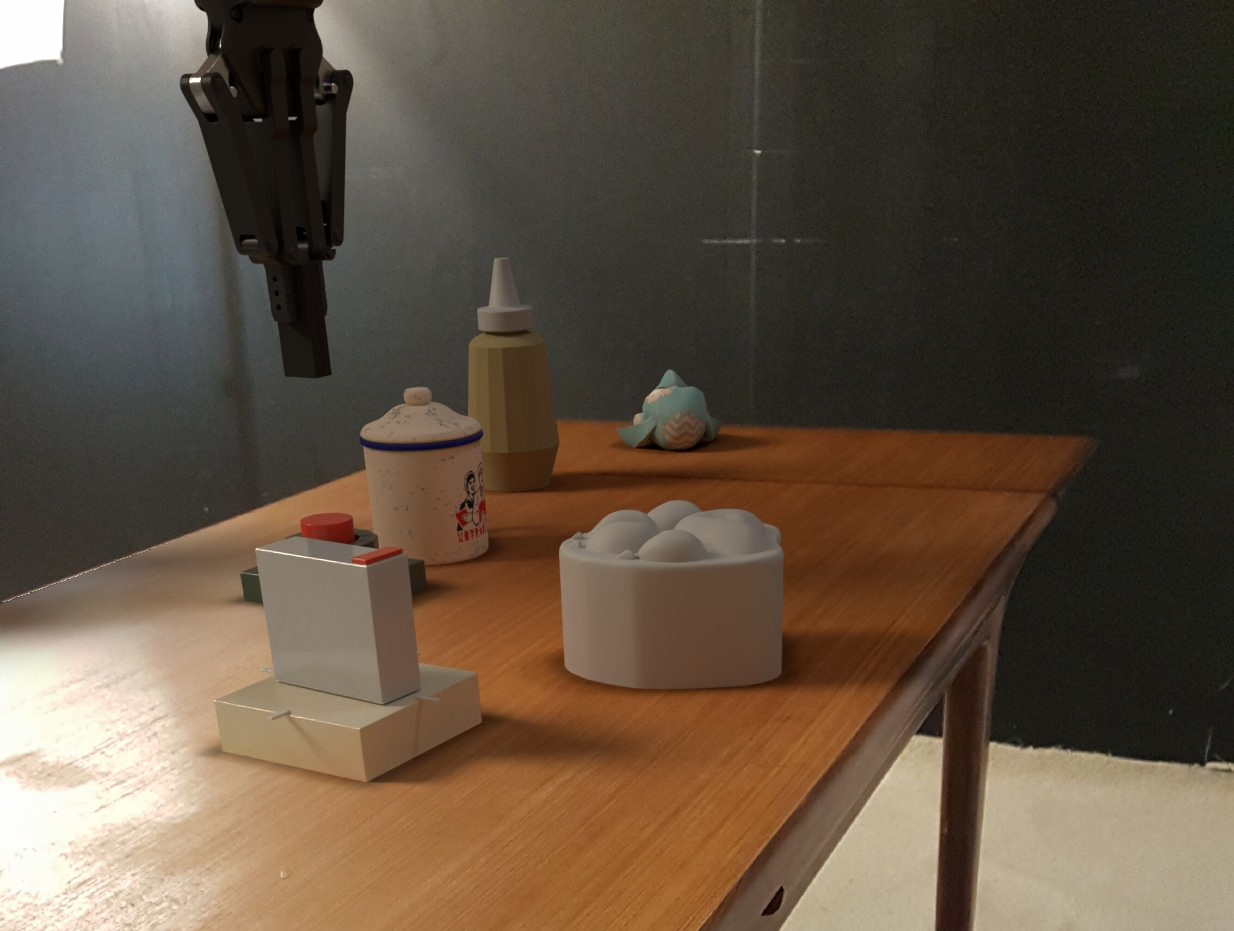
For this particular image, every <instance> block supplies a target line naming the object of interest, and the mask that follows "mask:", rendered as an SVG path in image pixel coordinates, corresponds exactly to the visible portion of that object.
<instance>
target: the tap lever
mask: <svg viewBox="0 0 1234 931" xmlns="http://www.w3.org/2000/svg"><path fill="white" fill-rule="evenodd" d="M284 539H285V538H284ZM284 539H282V540H278V541H275V542H271V543H268V544H265V545H261V546H258V547H255V548H254V553H255V559H256V566H258V572H259V579H260V585H261V592H262V598H263V604H262V605H263V611H264V617H265V623H266V630H267V636H268V644H269V650H270V656H271V662H272V668H273V670H274V674H273V675H274V676H275V680H276V681H279V682H284V683H288V684H293V685H297V686H302V687H306V688H311V689H315V690H320V691H324V692H329V693H333V694H338V695H342V696H347V697H351V698H356V699H360V700H365V701H369V702H373V703H378V704H383V705H384V704H386V703H388V702H391V701H393V700H396V699H398V698H400V697H403V696H405V695H407V694H410V693H412V692H415V691H417V690H419V689H421V681H420V671H419V663H420V662H419V656H418V652H419V651H418V644H417V634H416V624H415V615H414V606H413V605H414V604H413V595H412V594H411V585H410V575H409V565H408V556H407V554H406V553H403V550H402V548H396V547H389V546H387V547H384V548H381V549H375V548H368V547H362V546H355V545H349V544H343V543H336V542H330V541H323V540H317V539H310V538H304V537H298V536H295V537H291V538H288V539H285V540H284Z"/></svg>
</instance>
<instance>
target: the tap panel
mask: <svg viewBox="0 0 1234 931" xmlns="http://www.w3.org/2000/svg"><path fill="white" fill-rule="evenodd" d="M417 652H418V657H419V656H421V652H420V651H417ZM259 671H260V672H261V673H267V674H272V675H270V676H269V677H266V678H264V679H262V680H259V681H257V682H254V683H252V684H250V685H247V686H245V687H243V688H240V689H238V690H236V691H232V692H230V693H228V694H225V695H223V696H221V697H219V698H216V699H214V700H213V704H214V711H215V716H216V722H217V728H218V732H219V738H220V739H219V740H220V744H221V745H220V746H221V750H222V752H225V753H229V754H233V755H239V756H242V757H248V758H253V759H257V760H262V761H266V762H271V763H275V764H281V765H285V766H289V767H294V768H299V769H304V770H307V771H313V772H317V773H323V774H327V775H331V776H336V777H339V778H340V777H341V778H344V779H350V780H354V781H358V782H359V781H360V782H364V783H368V782H370V781H372V780H373V779H376V778H377V777H380V776H381V775H383V774H386V773H387V772H389V771H391V770H393V769H395V768H397V767H399V766H400V765H402V764H405V763H407V762H409V761H411V760H412V759H414V758H416V757H419V756H420V755H421V754H424V753H426V752H427V751H429V750H431V749H434V748H435V747H437V746H439V745H441V744H443V743H445V742H447V741H450V739H452V738H454V737H457V736H458V735H460V734H462V733H464V732H466V731H468V730H470V729H472V728H474V727H475V726H478V725H479V724H481V723H483V722H482V708H481V697H480V696H481V695H480V685H479V672H476V671H472V670H471V671H470V670H466V669H465V670H464V669H459V668H453V667H447V666H441V665H435V664H429V663H424V662H423V663H422V662H419V671H420V681H421V689H419V690H417V691H415V692H412V693H410V694H407V695H405V696H403V697H400V698H398V699H396V700H393V701H391V702H388V703H386V704H384V705H383V704H378V703H373V702H369V701H365V700H360V699H356V698H351V697H347V696H342V695H338V694H333V693H329V692H324V691H320V690H315V689H311V688H306V687H302V686H297V685H293V684H288V683H284V682H279V681H276V680H275V676H274V670H273V667H267V666H262V667H261V668H259Z"/></svg>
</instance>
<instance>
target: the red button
mask: <svg viewBox="0 0 1234 931" xmlns="http://www.w3.org/2000/svg"><path fill="white" fill-rule="evenodd" d="M299 526H300V533H302V537H304V538H310V539H317V540H323V541H330V542H336V543H343V544H349V543H351V542H354V541H356V539H355V531H354V529H355V523H354V516H352V514H348V513H343V512H325V513H324V512H322V513H316V514H311V515H308V516H304V517H302V518H301V519H300V520H299Z"/></svg>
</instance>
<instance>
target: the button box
mask: <svg viewBox="0 0 1234 931" xmlns="http://www.w3.org/2000/svg"><path fill="white" fill-rule="evenodd" d="M354 531H355V539H356V541H354V542H351V543H349V545H355V546H362V547H368V548H375V549H379V542H378V535H376V534H375V533H373V531H371V530H369V529H361V528H354ZM295 536H298V537H302V533H301V532H298V533H295V534H292V535H289V536H285V538H284V539H283V540H285V539H288V538H291V537H295ZM408 565H409V575H410V585H411V594H412V596H413V595H416V594H418V593H420V592H423V591H425V590H427V589H428V585H427V574H426V566H425V563H424V560H419V559H411V558H408ZM239 575H240V581H241V586H242V587H241V588H242V593H243V594H242V595H243V599H244V602H250V603H255V604H260V605H263V598H262V592H261V585H260V579H259V572H258V566H257V565H256V566H254V567H251V568H248V569H244V570H242V571H240V572H239Z"/></svg>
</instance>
